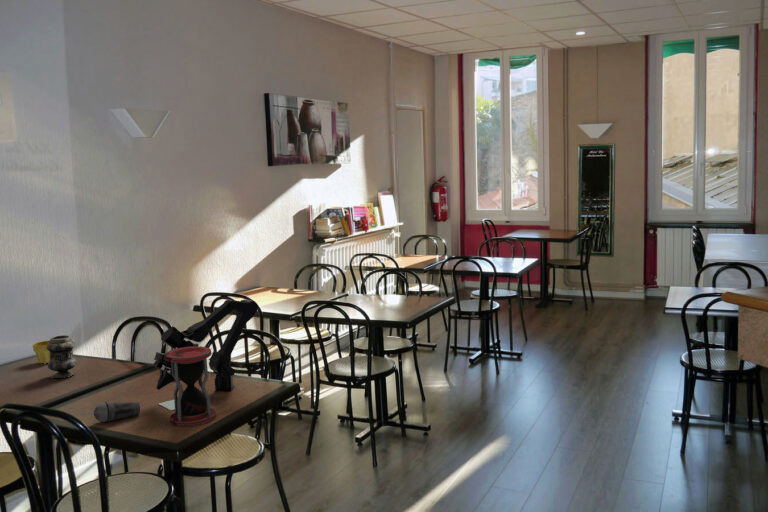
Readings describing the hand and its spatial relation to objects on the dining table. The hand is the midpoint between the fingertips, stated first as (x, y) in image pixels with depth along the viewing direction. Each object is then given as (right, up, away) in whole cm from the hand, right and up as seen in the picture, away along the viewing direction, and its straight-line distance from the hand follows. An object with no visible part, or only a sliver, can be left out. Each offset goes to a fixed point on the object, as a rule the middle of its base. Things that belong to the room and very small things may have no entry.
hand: (157, 389), depth 273 cm
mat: (+7, -6, +3) cm, 10 cm away
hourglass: (+17, -8, -14) cm, 24 cm away
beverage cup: (-5, -6, -7) cm, 10 cm away
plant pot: (-77, -1, +73) cm, 106 cm away
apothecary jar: (-58, -3, +48) cm, 75 cm away
